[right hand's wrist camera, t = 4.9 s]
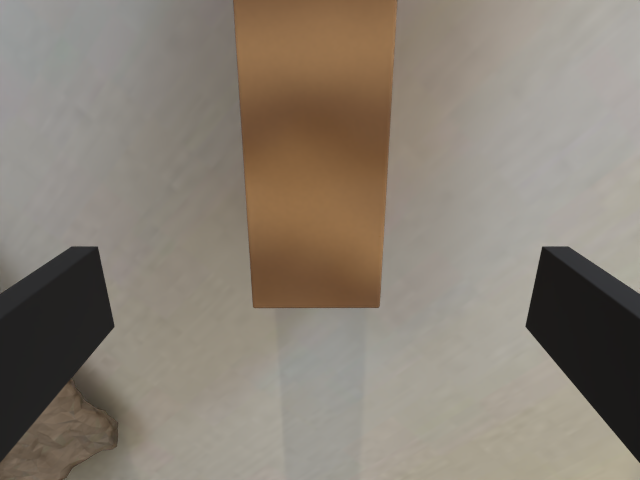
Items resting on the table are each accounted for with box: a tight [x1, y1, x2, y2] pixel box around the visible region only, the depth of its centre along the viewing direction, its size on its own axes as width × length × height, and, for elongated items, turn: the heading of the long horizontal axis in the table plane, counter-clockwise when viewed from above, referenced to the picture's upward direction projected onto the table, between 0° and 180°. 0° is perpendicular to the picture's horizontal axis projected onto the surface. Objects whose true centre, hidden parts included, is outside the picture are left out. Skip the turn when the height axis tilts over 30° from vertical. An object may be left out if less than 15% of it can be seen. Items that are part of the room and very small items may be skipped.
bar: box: [233, 0, 397, 308], centre depth 18 cm, size 24×6×8 cm, turn 0°
